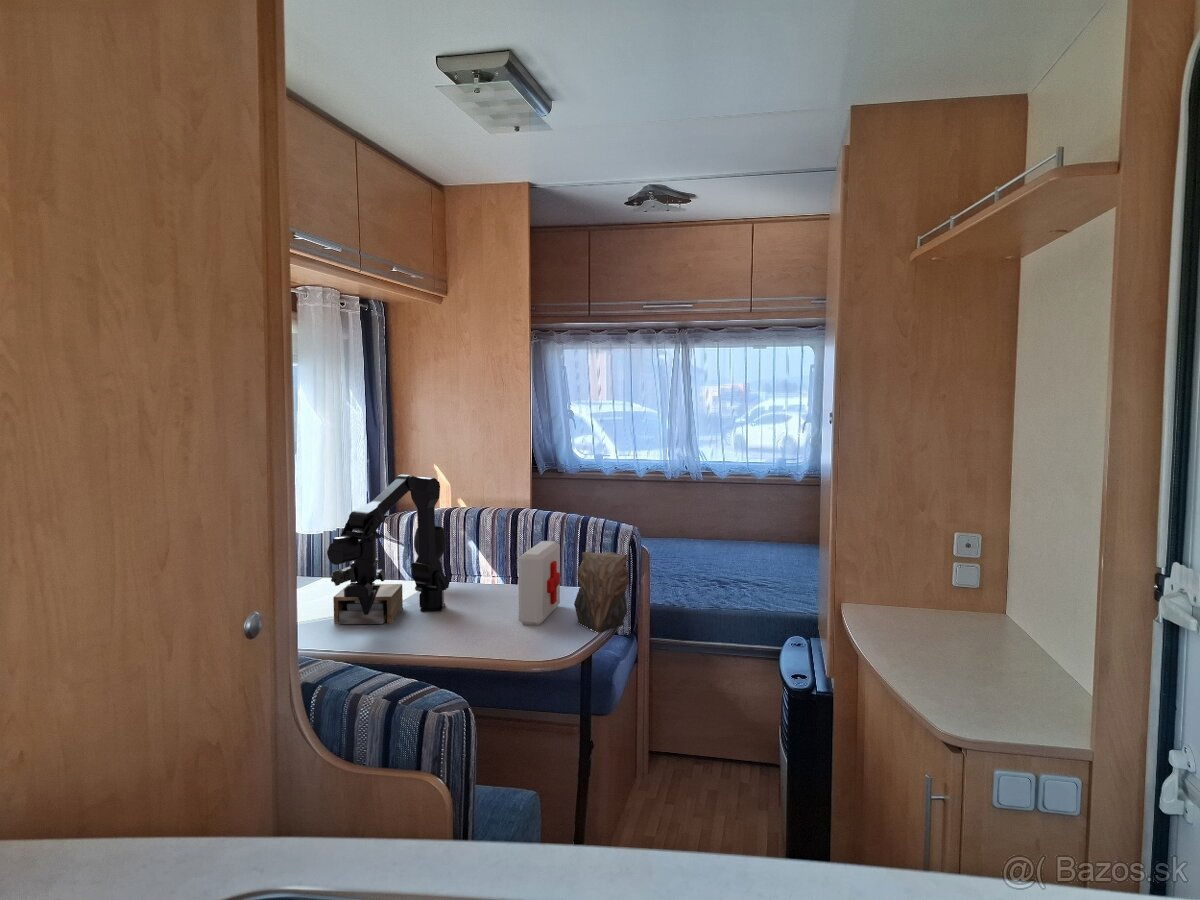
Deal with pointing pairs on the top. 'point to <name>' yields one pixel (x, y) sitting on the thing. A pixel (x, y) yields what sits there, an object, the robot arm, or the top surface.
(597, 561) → the owl
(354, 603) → the tray
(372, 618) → the shelf board
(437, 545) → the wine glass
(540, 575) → the bevelled white case
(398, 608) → the open wooden box
